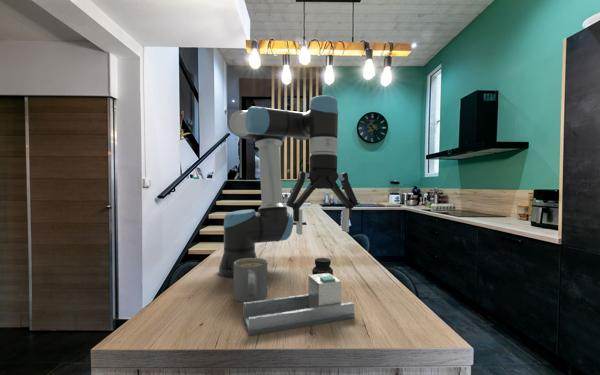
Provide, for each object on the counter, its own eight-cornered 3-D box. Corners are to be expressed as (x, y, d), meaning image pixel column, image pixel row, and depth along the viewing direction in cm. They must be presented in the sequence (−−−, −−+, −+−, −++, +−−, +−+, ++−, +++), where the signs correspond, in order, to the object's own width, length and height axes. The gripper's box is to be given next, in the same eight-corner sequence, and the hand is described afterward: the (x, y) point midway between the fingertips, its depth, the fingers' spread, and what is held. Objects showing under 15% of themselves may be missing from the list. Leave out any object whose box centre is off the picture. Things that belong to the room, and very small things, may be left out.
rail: (243, 316, 71) (243, 277, 71) (336, 302, 80) (336, 268, 80) (249, 335, 61) (249, 291, 61) (354, 317, 70) (354, 279, 70)
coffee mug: (237, 289, 90) (237, 257, 90) (268, 289, 90) (269, 257, 90) (226, 307, 76) (226, 270, 76) (263, 307, 76) (263, 270, 76)
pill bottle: (331, 301, 80) (332, 262, 80) (310, 300, 81) (310, 261, 81) (333, 293, 86) (333, 257, 86) (313, 292, 87) (314, 256, 87)
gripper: (282, 151, 69) (282, 237, 70) (370, 155, 77) (370, 232, 77) (275, 154, 77) (275, 232, 77) (357, 157, 84) (356, 228, 85)
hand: (322, 232), depth 77 cm, fingers open, 13 cm apart
